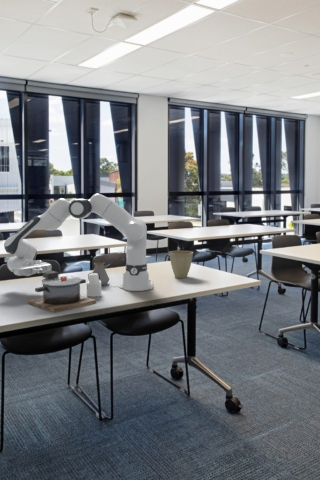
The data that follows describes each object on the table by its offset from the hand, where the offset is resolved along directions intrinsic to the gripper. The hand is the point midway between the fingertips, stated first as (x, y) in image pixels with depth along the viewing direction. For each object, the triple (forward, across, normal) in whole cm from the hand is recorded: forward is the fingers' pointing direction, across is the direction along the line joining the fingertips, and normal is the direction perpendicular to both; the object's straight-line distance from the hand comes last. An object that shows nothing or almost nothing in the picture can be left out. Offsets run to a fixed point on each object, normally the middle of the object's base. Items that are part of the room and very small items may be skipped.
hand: (40, 271), depth 239 cm
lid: (+17, 0, +3) cm, 17 cm away
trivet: (+18, 0, +13) cm, 23 cm away
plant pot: (+21, +88, +13) cm, 91 cm away
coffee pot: (+1, +44, +14) cm, 46 cm away
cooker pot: (+18, 0, +12) cm, 22 cm away
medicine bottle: (+17, +21, +14) cm, 31 cm away
